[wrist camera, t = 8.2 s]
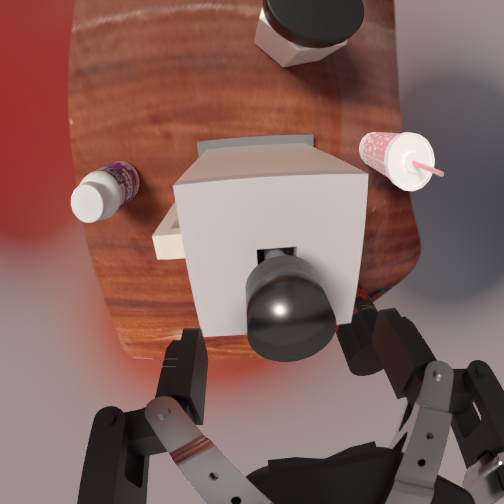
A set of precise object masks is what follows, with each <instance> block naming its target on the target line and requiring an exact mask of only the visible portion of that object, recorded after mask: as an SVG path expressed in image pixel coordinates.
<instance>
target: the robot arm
mask: <svg viewBox="0 0 504 504" xmlns="http://www.w3.org/2000/svg"><path fill="white" fill-rule="evenodd" d="M372 343H373V346H374V349H375V351H376V353H377V355H378V357H379V359H380V361H381V363H382V366H383V368H384V370H385V372H386V374H387V376H388V379H389V381H390V383H391V385H392V387H393V390H394V392H395V394H396V397H397V399H400V398H403V397H406V398H407V400H408V401H407V403H406V405H405V408H404V411H403V414H402V417H401V420H400V423H399V426H398V429H397V431H396V434H395V436H394V438H393V440H392V442H391V444H390V445H389V447H388V448H385V447H376V444H375V442H374V441H373V442H370V443H366V444H363V445H359V446H354V447H350V448H348V449H346V450H344V451H342V452H339V453H337V454H335V455H333V456H330V457H328V458H325V459H312V458H299V457H294V458H285V459H275V460H268V466H266V467H262V468H260V469H258V470H255V471H254V472H252V473H250V474H249V475H247V476H246V477H245V476H243V475H242V473H241V472H240V471H239V470H238V469H237V468H236V467H235V466H234V465H233V464H232V463H231V462H230V461H229V460H228V459H227V458H226V457H225V456H224V455H223V453H222V452H221V451H220V450H219V449H218V448H217V447H216V446H215V445H214V444H213V442H212V441H211V440H210V439H208V438H206V437H205V436H204V435H203V434H202V432H201V431H200V430H199V429H198V428H197V426H196V425H203V418H204V404H205V392H206V380H207V368H208V355H207V350H206V346H205V342H204V338H203V333H202V330H201V328H184V329H183V333H182V337H181V340H173V341H172V342H171V344H170V345H169V346H168V347H167V349H166V353H165V357H164V361H163V368H162V370H161V374H160V378H159V383H158V388H157V392H156V396H155V398H154V399H153V400H151V401H150V402H149V403H148V404H147V406H146V407H145V408H142V409H139V410H135V411H130V412H124V413H123V411H122V410H121V409H119V408H117V407H113V406H109V407H105V408H102V409H101V410H99V411H98V412H97V414H96V415H95V418H94V421H93V425H92V429H91V433H90V438H89V442H88V447H87V451H86V456H85V461H84V466H83V471H82V477H81V482H80V489H79V495H78V502H77V504H146V498H147V482H148V468H149V456H150V455H153V454H158V453H163V452H169V454H170V455H171V457H172V459H173V461H174V462H175V464H176V465H177V466H178V468H179V469H180V470H181V472H182V473H183V474H184V476H185V477H186V478H187V479H188V481H189V482H190V483H191V485H192V486H193V487H194V488H195V489H196V491H197V492H198V493H199V494H200V495H201V497H202V498H203V499H204V500H205V501H206V502H207V504H493V503H495V502H497V501H499V500H501V499H503V498H504V391H503V389H502V387H501V385H500V383H499V382H498V380H497V378H496V376H495V375H494V373H493V372H492V370H491V368H490V367H489V365H488V364H487V363H485V362H483V361H480V360H475V361H472V362H471V363H470V364H469V366H468V368H467V369H452V368H451V367H450V366H449V365H448V364H447V363H445V362H442V361H437V360H436V358H435V356H434V355H433V353H432V351H431V350H430V348H429V347H428V345H427V344H426V342H425V340H424V339H422V336H421V334H420V333H419V332H418V330H417V328H416V327H415V325H414V324H413V323H412V322H411V321H410V320H408V319H407V318H406V317H401V316H400V314H399V313H398V311H397V310H396V309H395V308H391V309H385V310H380V311H379V312H378V314H377V318H376V322H375V326H374V330H373V334H372ZM473 402H475V404H476V406H477V408H478V411H479V412H480V415H481V421H480V419H479V416H478V414H477V412H476V410H475V407H474V406H473ZM450 425H451V427H452V429H453V432H454V434H455V437H456V439H457V442H458V445H459V448H460V450H461V453H462V456H463V459H464V462H465V465H466V468H467V471H466V473H465V476H464V480H463V482H462V485H463V487H464V488H465V489H464V488H462V487H460V486H458V485H456V484H454V483H452V482H450V481H449V480H447V479H445V478H443V477H441V476H439V475H438V471H439V468H440V464H441V461H442V458H443V454H444V450H445V446H446V442H447V438H448V434H449V429H450Z"/></svg>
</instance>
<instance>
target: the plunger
mask: <svg viewBox="0 0 504 504" xmlns="http://www.w3.org/2000/svg"><path fill="white" fill-rule="evenodd" d="M289 255H294V247H285V248H272V249H259V250H257V258H262V257H264V258H265V261H263V262H261V263H260V264H259V265H257V266H256V267H255V268H254V269H253V270H252V272H251V273H250V275H249V277H248V279H247V282H246V287H245V288H246V314H247V337H248V341H249V344H250V346H251V347H252V349H253V350H254V351H255V352H256V353H258V354H259V355H261V356H262V357H264V358H266V359H269V360H273V361H279V362H291V361H298V360H301V359H305V358H308V357H310V356H312V355H314V354H315V353H317V352H319V351H320V350H322V349H323V348H324V347H325V346H326V345H327V344H328V343H329V342H330V340H331V339H332V337H333V335H334V333H335V330H336V317H335V314H334V312H333V309H332V307H331V305H330V302H329V300H328V298H327V295H326V293H325V291H324V288H323V286H322V284H321V282H320V279H319V277H318V275H317V273H316V271H315V269H314V268H313V266H312V265H311V264H310V263H308V262H307V261H305V260H303V259H302V258H299V257H295V256H289Z"/></svg>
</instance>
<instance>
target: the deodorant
mask: <svg viewBox="0 0 504 504" xmlns="http://www.w3.org/2000/svg"><path fill="white" fill-rule="evenodd" d="M377 314H378V311H377V309H376V308H375V306H374V304H373V303H372V301H371V299H370V298H369V296H368V295H367V293H366V291H365V290H364V288H363V286H362V285H361V283H360V282H359V280H358V285H357V291H356V297H355V303H354V309H353V314H352V320H351V323H346V324H339V325H336V330H335V332H336V334H337V337H338V340H339V342H340V345H341V347H342V350H343V353H344V355H345V358H346V361H347V363H348V366H349V369H350V371H351V372H352V373H353V374H355V375H358V376H365V375H371V374H374V373H376V372H379V371H381V370H382V369H384V368H383V366H382V363H381V361H380V359H379V357H378V355H377V353H376V351H375V349H374V346H373V343H372V334H373V330H374V326H375V322H376V318H377Z"/></svg>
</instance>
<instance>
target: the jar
mask: <svg viewBox="0 0 504 504" xmlns="http://www.w3.org/2000/svg"><path fill="white" fill-rule="evenodd" d="M363 18H364V6H363V3H362V0H263V6H262V10H261V13H260V16H259V21H258V25H257V30H256V34H255V39H254V43H255V44H256V45H257V46H258V47H259V48H261V49H262V50H263V51H264V52H266V53H267V54H268V55H269V56H270V57H271V58H273V59H274V60H275V61H276V62H277V63H278V64H279V65H281V66H282V67H288V66H293V65H298V64H303V63H309V62H315V61H320V60H321V59H323V58H324V57H326V56H328V55H329V54H331V53H333V52H334V51H336V50H338V49H339V48H341V47H343V46H345V45H346V44H347V41H348V38H350V37H351V36H352V35H353V34H354V33H356V31H357V30H358V29H359V28H360V26H361V24H362V22H363Z"/></svg>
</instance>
